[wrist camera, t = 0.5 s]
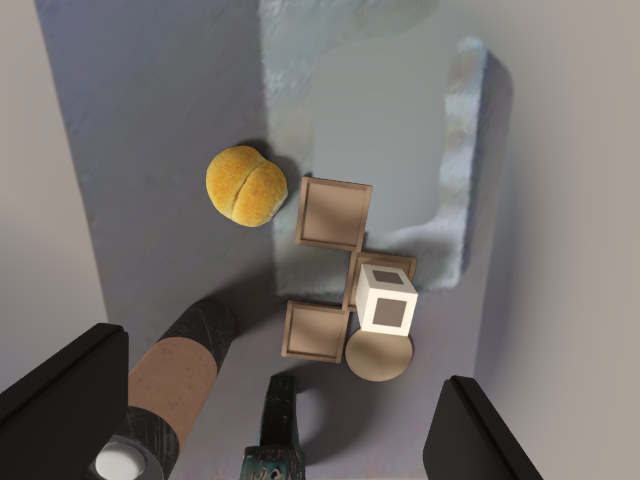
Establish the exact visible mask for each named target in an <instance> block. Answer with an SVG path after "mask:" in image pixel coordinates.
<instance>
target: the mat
mask: <svg viewBox="0 0 640 480" xmlns="http://www.w3.org/2000/svg"><path fill="white" fill-rule="evenodd" d="M345 354H346V361H347V363H348V365H349V367H350V369H351V370H352V371H353V372H354V373H355V374H356V375H358V376H359V377H361V378H363V379H366V380H370V381H385V380H389V379H392V378H394V377H396V376H398V375H400V374H401V373H402V372H403V371H404V370H405V369H406V368H407V367H408V365H409V363H410V361H411V358H412V345H411V342H410V340H409V338H408V336H401V335H393V334H385V333H377V332H369V331H362V330H361V328H359V329H358V330H357V331H355V332H354V333H353V334H352V336H351V337H350V338H349V340H348V342H347V345H346V350H345Z"/></svg>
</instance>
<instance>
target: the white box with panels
mask: <svg viewBox="0 0 640 480" xmlns="http://www.w3.org/2000/svg"><path fill="white" fill-rule="evenodd" d="M417 296H418V293H417V292H416V290H415V289H414V287H413V286H412V284H411V282H410V281H409V279H408V278H407V276H406V274H405V273H404V271H403V270H402V269H400V268H393V267H385V266H378V265H370V264H363V263H362V266H361V272H360V277H359V282H358V288H357V293H356V298H355V301H356V306H357V311H358V316H359V321H360V326H361V330H362V331H369V332H377V333H385V334H393V335H401V336H408V333H409V329H410V325H411V321H412V317H413V313H414V308H415V304H416V300H417Z"/></svg>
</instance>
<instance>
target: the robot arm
mask: <svg viewBox="0 0 640 480" xmlns="http://www.w3.org/2000/svg"><path fill="white" fill-rule="evenodd" d="M128 356H129V336H128V333H127V332H125V331H124V329H123V327H122V326H121V325H114V324H108V323H98V324H96V325H94V326H93V327H92V328H90V329H89V330H88V331H86V332H85V333H83V334H82V335H81V336H79V337H78V338H77V339H75V340H74V341H72V342H71V343H70V344H69V345H67V346H66V347H64V348H63V349H61V350H60V351H59V352H57V353H56V354H54V355H53V356H52V357H51V358H49V359H48V360H46V361H45V362H44V363H42V364H41V365H39V366H38V367H37V368H35V369H34V370H32V371H31V372H30V373H28V374H27V375H26V376H24V377H23V378H21V379H20V380H19V381H17V382H16V383H15V384H13V385H12V386H10V387H9V388H8V389H6V390H5V391H3V392H2V393H1V394H0V480H79V479H80V477H81V476H82V475H83V474H84V472H85V471H86V470H87V468H88V467H89V466H90V464H91V463H92V462H93V460H94V459H95V458H96V457H97V455H98V454H99V453H100V451H101V450H102V449H103V447H104V446H105V445H106V444H107V442H108V441H109V440H110V438H111V437H112V436H113V434H114V433H115V432H116V430H117V429H118V428H119V427H120V425H121V424H122V422H123V421H124V419H125V417H126V415H127V411H128ZM423 463H424V467H425V470H426V473H427V476H428V479H429V480H543V478H542V477H541V475H540V474H539V472H538V471H537V469H536V468H535V466H534V465H533V464H532V462H531V461H530V459H529V458H528V456H527V455H526V453H525V452H524V450H523V449H522V448H521V446H520V444H519V443H518V441H517V440H516V439H515V437H514V436H513V434H512V433H511V431H510V430H509V428H508V427H507V425H506V424H505V422H504V421H503V419H502V418H501V417H500V415H499V414H498V412H497V411H496V409H495V408H494V406H493V405H492V403H491V402H490V400H489V399H488V398H487V396H486V395H485V393H484V392H483V390H482V389H481V387H480V386H479V384H478V383H477V381H476V380H475V379H473V378H469V377H463V376H456V375H453V376H452V377H451V378H450V380H448V379H447V380H445V382H444V384H443V387H442V391H441V394H440V397H439V400H438V404H437V407H436V410H435V414H434V417H433V420H432V423H431V427H430V430H429V433H428V437H427V440H426V443H425V446H424V450H423Z"/></svg>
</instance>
